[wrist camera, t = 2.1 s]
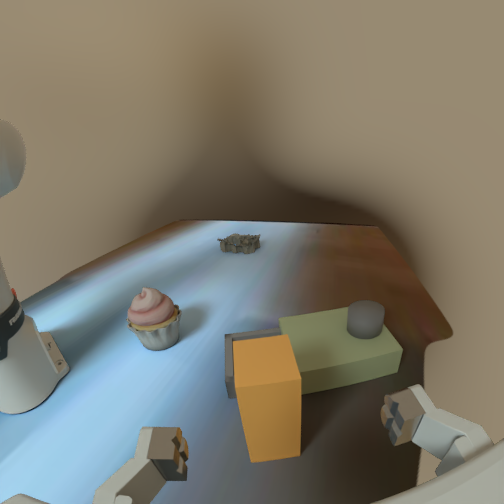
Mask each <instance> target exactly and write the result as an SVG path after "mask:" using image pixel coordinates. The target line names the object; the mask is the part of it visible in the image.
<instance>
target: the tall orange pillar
mask: <svg viewBox="0 0 504 504" xmlns="http://www.w3.org/2000/svg"><path fill="white" fill-rule="evenodd" d="M233 357H234V378H235V390H236V395H237V400H238V405H239V410H240V414H241V419H242V424H243V428H244V433H245V437H246V442H247V446H248V451H249V455H250V459H251V463H252V462H261V461H270V460H277V459H284V458H290V457H296V456H300V445H301V376H300V373H299V369H298V366H297V363H296V359H295V356H294V353H293V350H292V346H291V343H290V340H289V337H288V334H285V335H278V336H271V337H264V338H256V339H248V340H240V341H233Z"/></svg>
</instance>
